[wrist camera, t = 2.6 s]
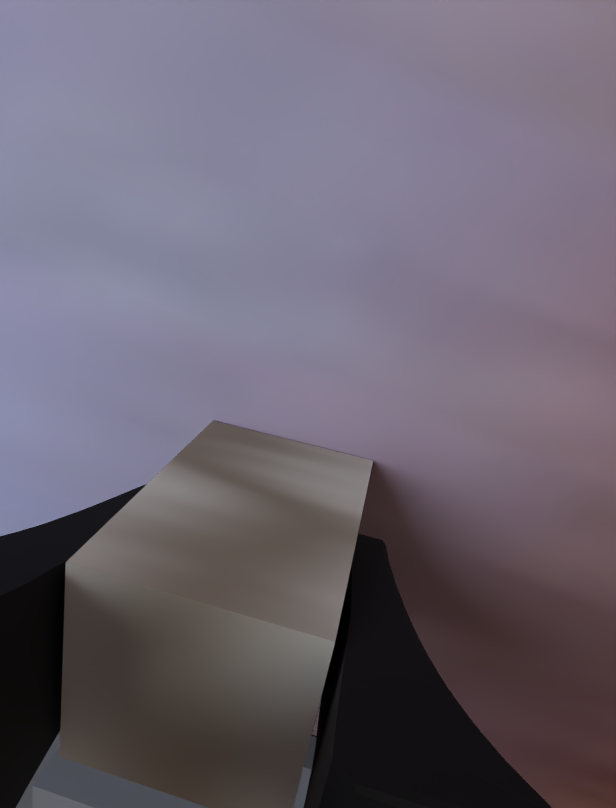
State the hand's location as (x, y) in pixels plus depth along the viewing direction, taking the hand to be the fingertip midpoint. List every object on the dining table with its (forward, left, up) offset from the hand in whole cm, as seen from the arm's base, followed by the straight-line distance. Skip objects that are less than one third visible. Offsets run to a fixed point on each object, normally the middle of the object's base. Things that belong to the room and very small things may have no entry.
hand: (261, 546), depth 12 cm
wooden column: (0, 0, -2) cm, 2 cm away
